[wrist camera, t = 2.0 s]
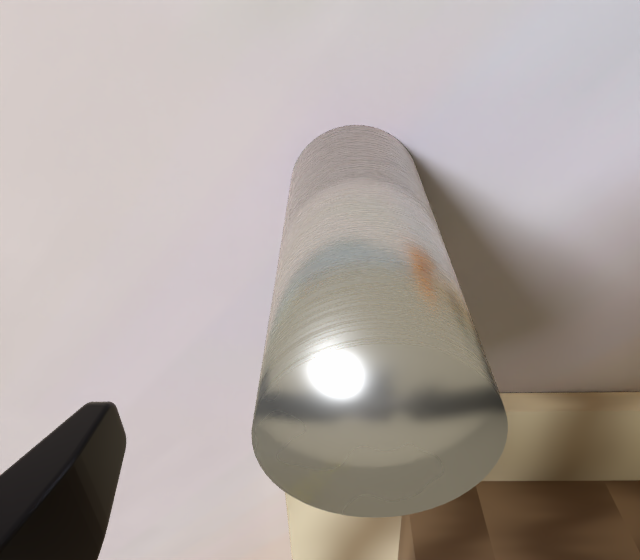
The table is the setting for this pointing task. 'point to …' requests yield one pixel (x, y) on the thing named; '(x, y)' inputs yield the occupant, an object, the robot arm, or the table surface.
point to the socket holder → (514, 494)
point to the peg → (371, 343)
